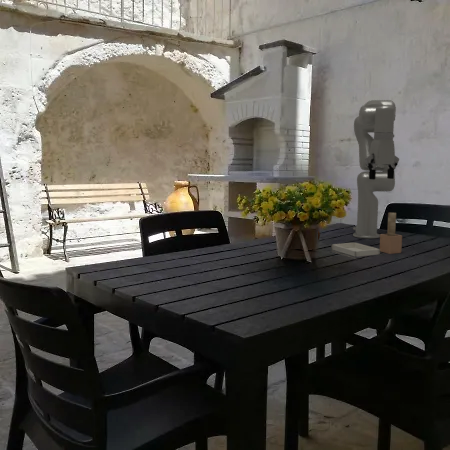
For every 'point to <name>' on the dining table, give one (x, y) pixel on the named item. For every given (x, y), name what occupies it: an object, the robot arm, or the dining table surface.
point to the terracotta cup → (390, 243)
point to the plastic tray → (354, 249)
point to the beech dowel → (391, 224)
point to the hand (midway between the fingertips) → (381, 178)
